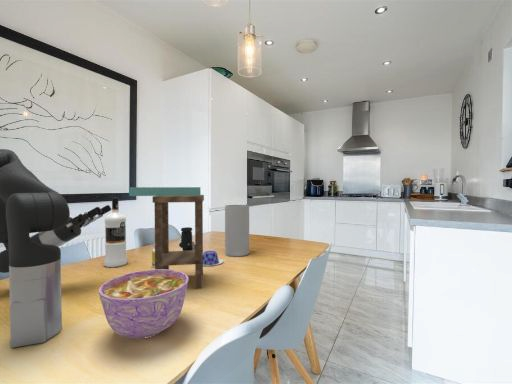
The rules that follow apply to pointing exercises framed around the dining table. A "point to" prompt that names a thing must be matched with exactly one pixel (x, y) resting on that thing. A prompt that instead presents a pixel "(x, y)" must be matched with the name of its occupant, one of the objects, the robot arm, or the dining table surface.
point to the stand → (162, 237)
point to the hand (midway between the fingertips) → (105, 208)
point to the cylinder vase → (236, 230)
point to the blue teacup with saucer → (211, 258)
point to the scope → (187, 239)
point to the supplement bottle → (153, 257)
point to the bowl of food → (143, 301)
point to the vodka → (115, 237)
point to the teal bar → (164, 191)
